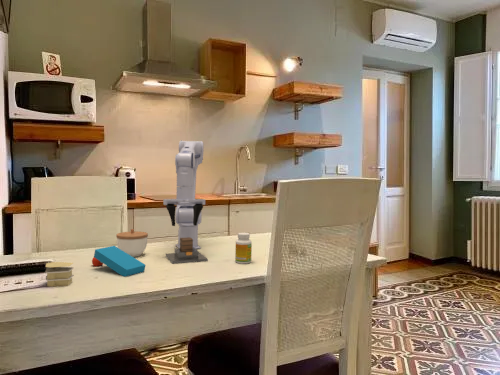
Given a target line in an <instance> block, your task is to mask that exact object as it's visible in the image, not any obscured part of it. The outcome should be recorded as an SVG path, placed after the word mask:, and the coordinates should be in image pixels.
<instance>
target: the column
mask: <svg viewBox="0 0 500 375" xmlns="http://www.w3.org/2000/svg"><path fill="white" fill-rule="evenodd" d="M180 251H181V252H184V251H193V239H192V238H190V237H188V238H180Z"/></svg>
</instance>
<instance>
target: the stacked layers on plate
mask: <svg viewBox="0 0 500 375" xmlns="http://www.w3.org/2000/svg"><path fill="white" fill-rule="evenodd" d="M73 264H74V262H64V261H63V262H62V261H52V262H46V263H45V274H46V277H45V281H46V283H47V284H46V285H47V287H58V286H59V287H60V286H62V287H64V286H69V285H70V284H72V283H73V277H74V274H73V270H74V267H72V266H71V265H73ZM70 266H71V267H70Z"/></svg>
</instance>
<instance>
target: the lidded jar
mask: <svg viewBox="0 0 500 375" xmlns="http://www.w3.org/2000/svg"><path fill="white" fill-rule="evenodd" d="M134 230H135V229H134V228H131V229H130V231H122V232H118V233H116V247H117V248H119V249H121V250H122V251H124V252H125V253H127V254H129V255H130V256H132V257H134V258H138V257H140V256H142V254H143V253H144V252H145V250H146V248H147V246H148V236H149V234H148V232H147V231H146V232H145V231H134Z"/></svg>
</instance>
